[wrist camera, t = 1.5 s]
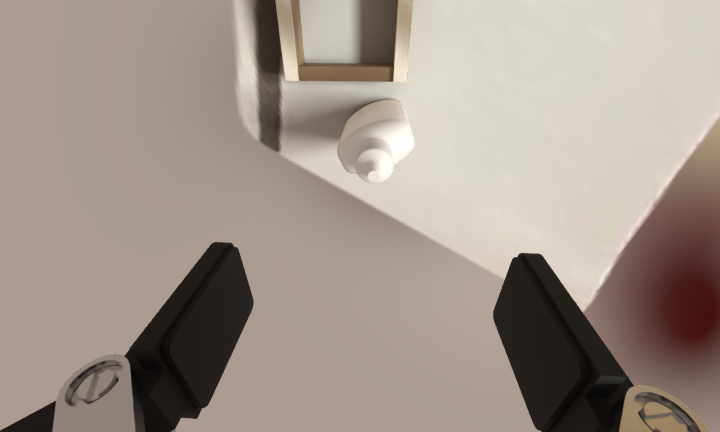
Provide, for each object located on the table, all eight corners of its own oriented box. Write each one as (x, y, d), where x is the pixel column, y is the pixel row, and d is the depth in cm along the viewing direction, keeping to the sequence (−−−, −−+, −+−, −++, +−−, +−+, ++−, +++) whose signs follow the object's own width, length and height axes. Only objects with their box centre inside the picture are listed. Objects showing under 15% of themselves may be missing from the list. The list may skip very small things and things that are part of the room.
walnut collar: (277, -75, 20) (264, -88, 18) (415, -77, 20) (420, -91, 18) (294, 76, 25) (285, 81, 23) (404, 77, 25) (406, 82, 23)
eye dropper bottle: (348, 92, 26) (327, 133, 16) (410, 100, 26) (429, 145, 16) (344, 140, 28) (324, 202, 18) (402, 147, 28) (413, 213, 18)
